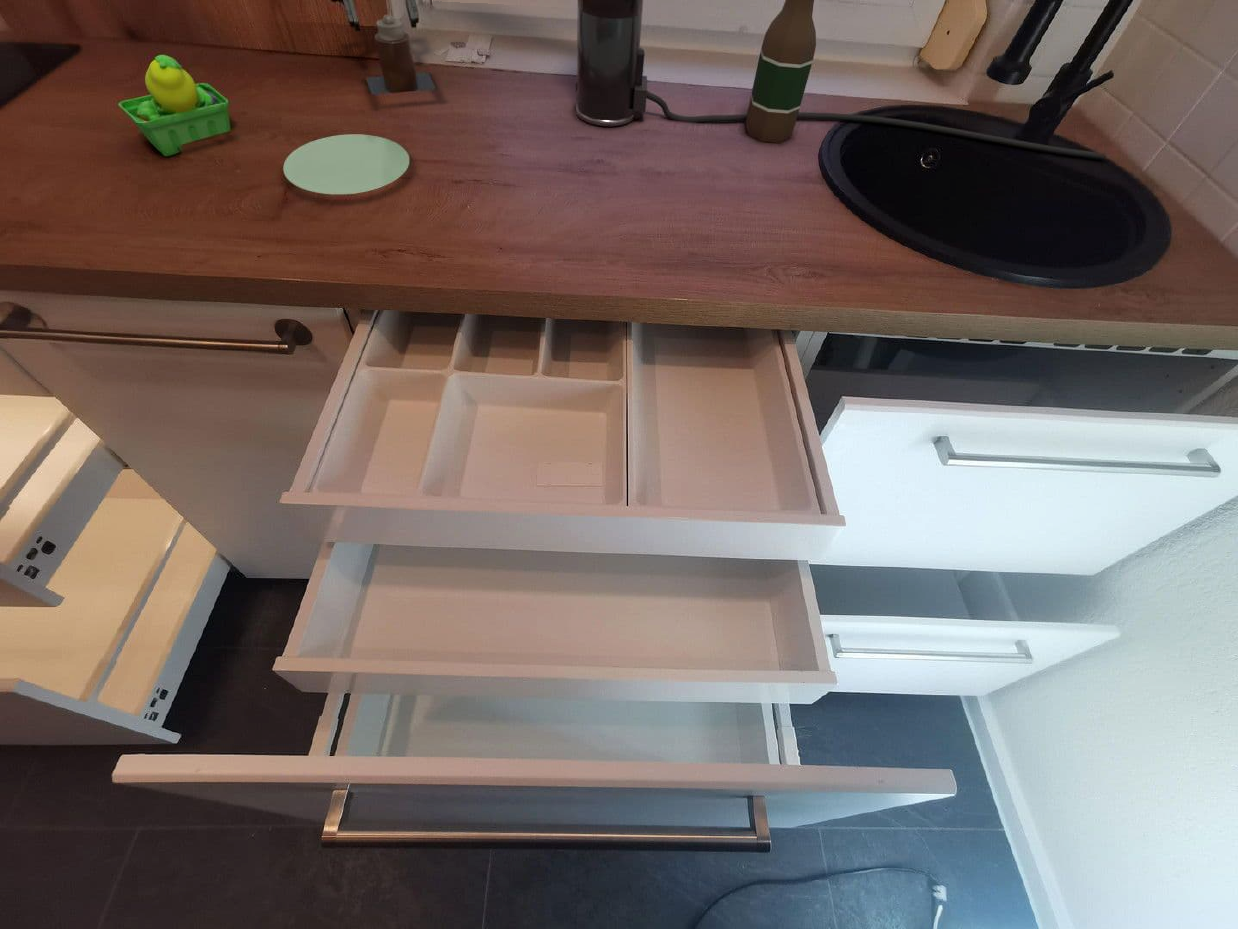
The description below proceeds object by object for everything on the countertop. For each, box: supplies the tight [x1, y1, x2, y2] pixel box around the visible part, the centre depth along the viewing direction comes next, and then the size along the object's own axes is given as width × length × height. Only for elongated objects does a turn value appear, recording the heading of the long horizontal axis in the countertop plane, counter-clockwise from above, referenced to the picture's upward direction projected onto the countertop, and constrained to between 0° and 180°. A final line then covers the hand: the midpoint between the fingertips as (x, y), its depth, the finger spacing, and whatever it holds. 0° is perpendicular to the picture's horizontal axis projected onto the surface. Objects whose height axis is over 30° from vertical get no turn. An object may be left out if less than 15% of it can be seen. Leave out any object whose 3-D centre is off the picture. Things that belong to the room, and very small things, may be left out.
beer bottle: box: [745, 0, 817, 144], centre depth 88 cm, size 8×8×24 cm
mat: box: [365, 72, 437, 96], centre depth 98 cm, size 10×10×1 cm
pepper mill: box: [374, 13, 418, 94], centre depth 94 cm, size 5×5×10 cm
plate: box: [282, 133, 410, 195], centre depth 83 cm, size 16×16×1 cm
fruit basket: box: [118, 54, 232, 157], centre depth 81 cm, size 11×9×11 cm
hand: (386, 26), depth 96 cm, fingers open, 8 cm apart
